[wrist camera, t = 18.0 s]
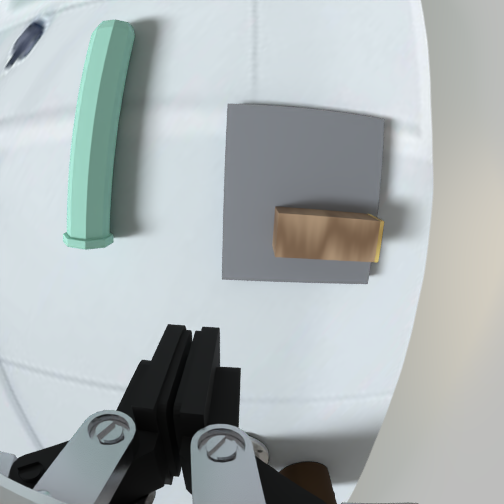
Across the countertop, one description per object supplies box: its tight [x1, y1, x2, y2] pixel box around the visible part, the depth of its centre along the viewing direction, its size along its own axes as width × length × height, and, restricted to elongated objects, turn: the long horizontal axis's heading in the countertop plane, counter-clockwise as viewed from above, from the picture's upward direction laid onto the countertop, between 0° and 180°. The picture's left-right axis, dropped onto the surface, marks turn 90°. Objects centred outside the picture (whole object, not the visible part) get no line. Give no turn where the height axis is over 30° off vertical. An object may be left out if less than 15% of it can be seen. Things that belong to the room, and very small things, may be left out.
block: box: [272, 207, 384, 262], centre depth 31 cm, size 4×4×10 cm
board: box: [222, 104, 384, 284], centre depth 33 cm, size 18×16×2 cm
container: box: [63, 20, 135, 249], centre depth 29 cm, size 6×6×25 cm
